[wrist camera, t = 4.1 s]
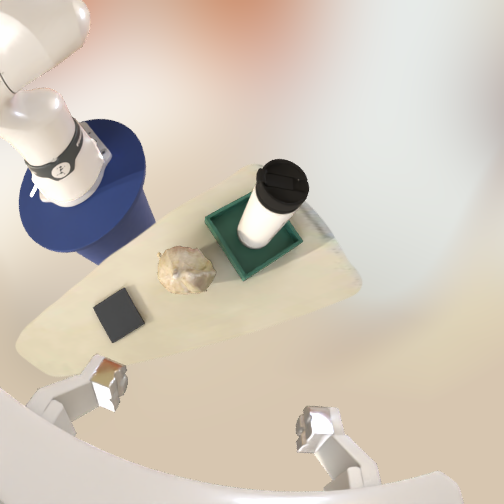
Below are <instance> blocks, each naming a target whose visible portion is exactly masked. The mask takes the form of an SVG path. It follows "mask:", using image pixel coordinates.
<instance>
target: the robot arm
mask: <svg viewBox="0 0 504 504" xmlns="http://www.w3.org/2000/svg"><path fill="white" fill-rule="evenodd" d="M90 25H91V17H90V12H89V10H88V8H87V6H86V4H85V3H84V2H83V1H81V0H0V138H2V139H4V140H6V141H7V142H9V143H10V144H11V145H12V146H13V147H14V148H15V149H16V150H17V151H18V152H19V153H20V154H21V155H22V156H23V157H24V160H25V163H26V164H27V166H28V168H29V169H30V170H31V171H32V181H33V182H34V184H35V186H34V188H33V190H32V192H31V194H30V196H31V197H33V195H34V193H35V191H36V189H37V187H38V189H39V192H40V199H41V200H42V202H53V203H55V204H56V205H58V206H61V207H72V206H75V205H78V204H80V203H82V202H83V201H85V200H86V199H88V198H89V197H90V196H91V195H92V194H93V193H94V192H95V190H96V189H97V188H98V186H99V184H100V182H101V180H102V178H103V174H104V170H105V167H106V166H107V164H108V163H109V162H110V160H111V158H112V154H111V152H110V151H109V150H108V149H107V148H106V146H105V145H104V144H103V143H102V141H101V140H100V139H99V138H98V137H97V135H96V134H95V133H94V132H93V130H92V129H91V128H90V127H89V126H88V124H87V123H86V122H80V123H78V121H77V120H76V119H75V118H73V117H72V116H71V114H70V112H69V110H68V108H67V106H66V104H65V101H64V99H63V97H62V96H61V94H59V93H58V92H57V91H55V90H53V89H50V88H38V89H32V90H21V89H22V88H23V87H25V86H26V85H28V84H29V83H31V82H32V81H34V80H35V79H37V78H38V77H40V76H42V75H43V74H45V73H46V72H48V71H50V70H51V69H53V68H55V67H56V66H57V65H58V64H60V63H61V62H63V61H64V60H65V59H67V58H68V57H69V56H71V55H72V54H73V53H74V52H76V51H77V50H79V49H80V48H81V47H83V45H84V43H85V41H86V39H87V37H88V34H89V31H90ZM103 153H104V154H103ZM126 371H127V369H126V365H123V364H121V363H118V362H116V361H113V360H111V359H109V358H106V357H104V356H101V355H99V354H95V355H94V356H93V357H92V359H91V360H90V361H89V363H88V364H87V365H86V367H85V368H84V370H83V371H82V372H81V374H80V375H74V376H72V377H69V378H66V379H64V380H61V381H58V382H56V383H53V384H50V385H47V386H45V387H42V388H39V389H38V390H37V391H36V392H35V394H34V395H33V397H32V398H31V399H30V401H29V402H28V403H27V405H26V406H24V405H23V404H21V403H20V402H19V401H17V400H16V399H14V398H13V397H12V396H11V395H9V394H8V393H7V392H6V391H4V390H3V389H2V388H1V387H0V504H464V502H463V498H462V494H461V491H460V488H459V486H458V484H457V483H456V482H455V481H454V480H452V479H451V478H450V477H448V476H447V475H445V474H444V473H442V472H440V471H436V472H432V473H429V474H425V475H422V476H418V477H414V478H410V479H406V480H402V481H398V482H392V483H387V484H381V479H380V475H379V471H378V467H377V464H376V463H375V462H374V461H373V460H372V459H371V458H370V457H369V456H368V455H367V454H366V453H365V452H364V451H363V450H362V449H361V448H360V447H359V446H358V445H357V444H356V443H355V442H354V441H353V440H352V439H351V438H350V437H349V436H348V435H345V434H344V429H343V425H342V420H341V416H340V411H339V409H338V408H331V407H318V406H306V407H305V408H304V410H303V413H304V414H302V415H300V416H299V418H298V420H297V423H296V434H297V435H298V436H299V438H298V440H297V441H296V442H297V452H300V453H315V454H314V455H315V456H316V457H317V459H318V460H319V462H320V463H321V464H322V466H323V467H324V468H325V470H326V471H327V473H328V474H329V475H330V477H331V478H332V479H333V481H332V482H330V483H329V484H327V485H326V486H325V487H324V491H316V492H285V491H265V490H253V489H244V488H236V487H229V486H223V485H217V484H211V483H205V482H201V481H196V480H191V479H187V478H183V477H179V476H175V475H171V474H168V473H165V472H161V471H158V470H155V469H151V468H148V467H145V466H142V465H139V464H137V463H134V462H131V461H128V460H126V459H123V458H120V457H118V456H116V455H113V454H111V453H108V452H106V451H104V450H102V449H99V448H97V447H95V446H93V445H91V444H89V443H86V442H84V441H83V440H81V439H79V438H77V437H75V435H76V431H75V429H74V427H73V425H72V423H71V422H73V421H74V420H76V419H78V418H80V417H82V416H83V415H85V414H87V413H88V412H90V411H92V410H94V409H95V408H97V407H98V405H99V406H101V407H104V408H106V409H109V410H111V411H114V412H115V411H116V409H117V407H118V405H119V403H120V398H119V397H120V396H122V395H124V393H125V391H126V388H127V385H128V378H127V376H126V374H125V373H126Z"/></svg>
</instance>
